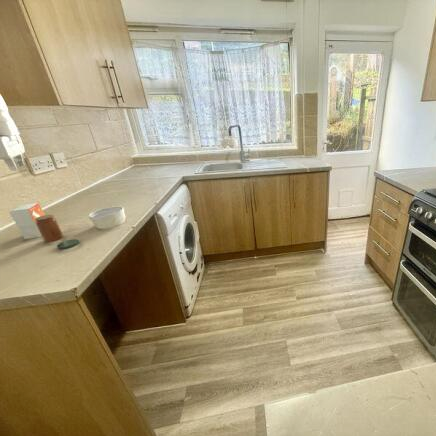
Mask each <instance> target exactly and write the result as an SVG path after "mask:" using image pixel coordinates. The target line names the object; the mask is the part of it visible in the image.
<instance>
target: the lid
mask: <svg viewBox="0 0 436 436" xmlns="http://www.w3.org/2000/svg"><path fill="white" fill-rule="evenodd" d="M79 244H80V241H79V239H77V238H73V239H67V240H63V241H61V242H59V243H58V244H56V248H57V250H59V251H63V250H68V249H71V248H73V247H76V246H77V245H79Z"/></svg>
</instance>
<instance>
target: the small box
mask: <svg viewBox="0 0 436 436" xmlns="http://www.w3.org/2000/svg"><path fill="white" fill-rule="evenodd" d="M9 215H10V216H11V218H12V220H13V221H14V223H15V225H16V226H17V228H18V229H19V231H20V233H21V235H22V237H23V238H24V240H28V239H33V238H40V237H42V235H41V233H40V231H39V229H38V227H37V225H36V221H35V218H37V217H40V216H44V215H46V214H45V213H44V211H43V209H42V207H41V205H40V203H39V202H35V203H27V204H20V205H19V206H17V207H15V208H13V209H12V210H10V211H9Z"/></svg>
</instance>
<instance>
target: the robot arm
mask: <svg viewBox="0 0 436 436" xmlns="http://www.w3.org/2000/svg"><path fill="white" fill-rule="evenodd" d="M20 135H21V131H20V129H19V128H18V127H17V126H16V123H15V120H14V119H13V118H12V117H11V115H10V114H9V108H8V106H7V104H6V102H5V100H4V98H3V96H2V94H1V93H0V160H3V162H4V163H5V164H6V166H8V168H9V170H10V171H18V170H19V168H20V167H24V166H26V164H25V162H24V157H23V154H25V153H26V150H25V147H24V144H23V143H24V142H23V141H22V137H21V136H20ZM14 160H15V161H16V163H15V161H14ZM18 167H19V168H18Z"/></svg>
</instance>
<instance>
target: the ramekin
mask: <svg viewBox="0 0 436 436" xmlns="http://www.w3.org/2000/svg"><path fill="white" fill-rule="evenodd" d="M88 217H89V219H90V221H91V222H92V223H93V225H94V226H95V228H96V229H99V230H100V229H101V230H102V229H103V230H104V229H111V228H114V227H117V226H120V225H122V224H123V223H125V222H126V221H127V220H126V214H125V208H124V207H123V206H119V205H117V206H108V207H104V208H99V209H97V210H94V211H92V212H91V213H89V214H88Z"/></svg>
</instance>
